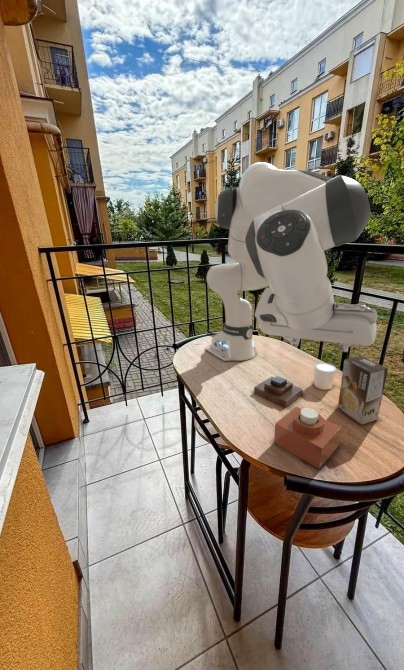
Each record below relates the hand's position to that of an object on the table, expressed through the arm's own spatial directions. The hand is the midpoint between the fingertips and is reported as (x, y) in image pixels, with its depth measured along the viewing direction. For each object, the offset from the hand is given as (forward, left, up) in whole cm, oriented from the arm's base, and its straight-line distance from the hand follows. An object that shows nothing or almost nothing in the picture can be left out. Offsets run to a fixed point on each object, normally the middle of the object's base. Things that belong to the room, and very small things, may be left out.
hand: (318, 345), depth 57 cm
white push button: (-2, +3, -21) cm, 22 cm away
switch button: (-20, +18, -25) cm, 37 cm away
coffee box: (+2, +25, -29) cm, 38 cm away
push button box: (-2, +3, -29) cm, 29 cm away
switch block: (-20, +18, -29) cm, 39 cm away
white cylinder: (-12, +33, -29) cm, 46 cm away
